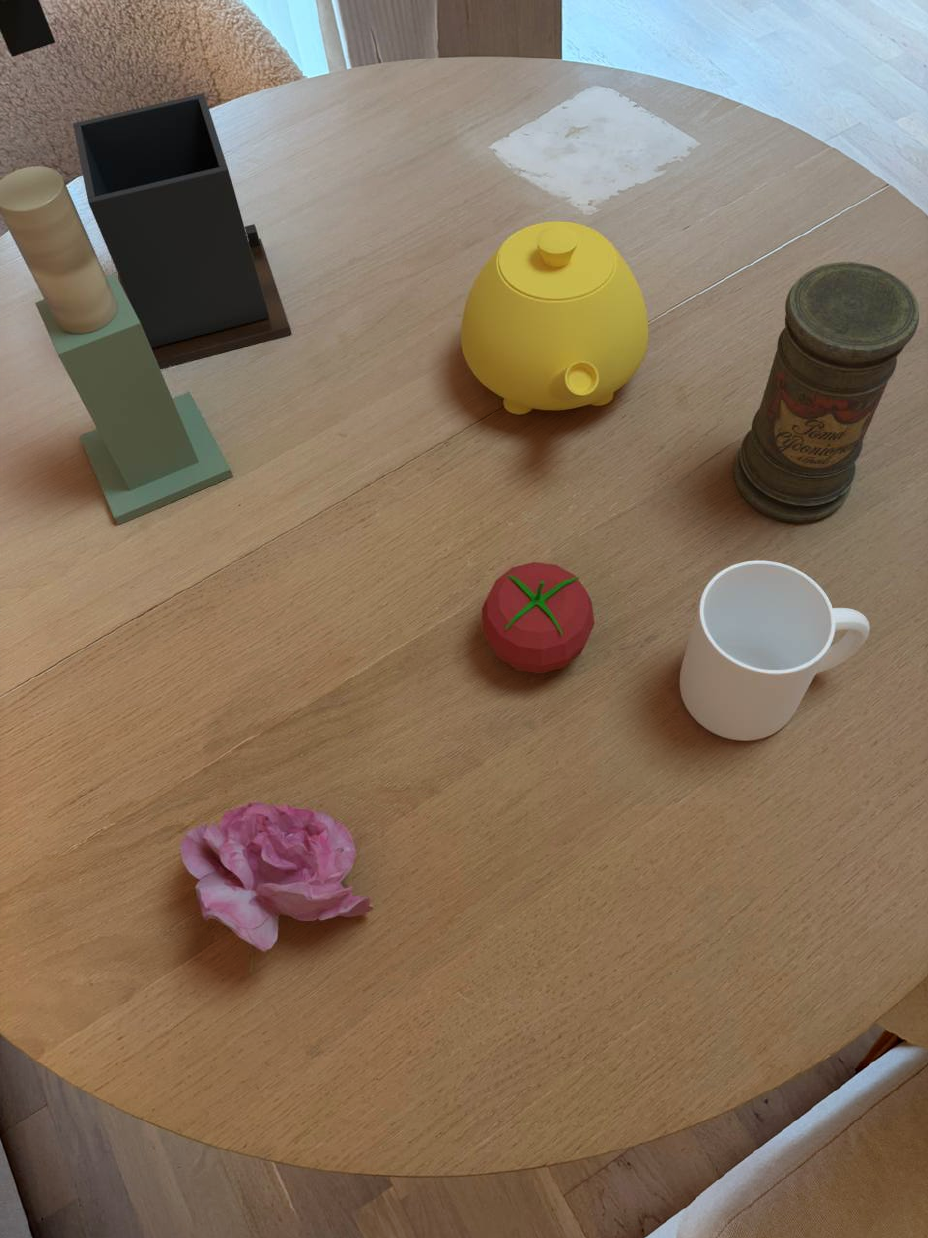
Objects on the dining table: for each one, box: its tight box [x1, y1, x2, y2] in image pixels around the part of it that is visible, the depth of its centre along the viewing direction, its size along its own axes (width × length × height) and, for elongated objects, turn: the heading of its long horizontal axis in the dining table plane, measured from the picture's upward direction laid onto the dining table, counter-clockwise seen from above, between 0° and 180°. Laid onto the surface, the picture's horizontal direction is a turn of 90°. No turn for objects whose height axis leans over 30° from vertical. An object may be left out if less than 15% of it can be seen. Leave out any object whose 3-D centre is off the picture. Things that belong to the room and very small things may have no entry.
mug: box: [679, 559, 871, 742], centre depth 67 cm, size 12×8×10 cm
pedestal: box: [34, 273, 234, 525], centre depth 78 cm, size 10×10×16 cm
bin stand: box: [114, 223, 293, 370], centre depth 94 cm, size 13×14×3 cm
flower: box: [180, 801, 374, 974], centre depth 62 cm, size 11×10×10 cm
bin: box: [72, 93, 269, 348], centre depth 87 cm, size 11×11×15 cm
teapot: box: [460, 220, 649, 415], centre depth 81 cm, size 20×16×14 cm
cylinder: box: [0, 165, 118, 334], centre depth 67 cm, size 4×4×10 cm
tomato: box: [481, 561, 595, 674], centre depth 71 cm, size 8×8×8 cm
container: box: [733, 261, 920, 524], centre depth 73 cm, size 9×9×18 cm
